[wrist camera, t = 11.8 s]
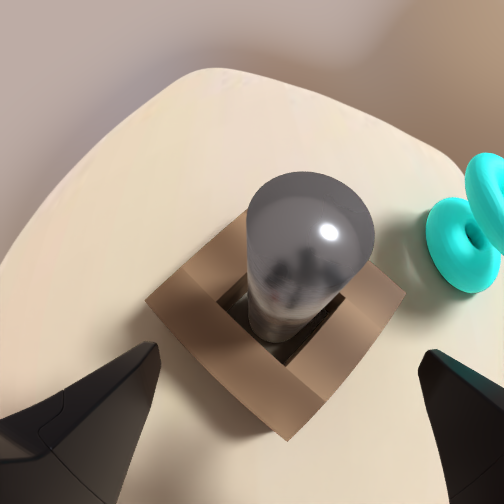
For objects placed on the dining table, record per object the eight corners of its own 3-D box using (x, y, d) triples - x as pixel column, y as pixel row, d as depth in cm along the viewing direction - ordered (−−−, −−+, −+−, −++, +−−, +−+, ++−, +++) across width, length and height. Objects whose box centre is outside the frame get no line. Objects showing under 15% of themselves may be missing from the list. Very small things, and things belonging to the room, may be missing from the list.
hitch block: (280, 429, 16) (287, 441, 13) (162, 314, 20) (144, 300, 16) (382, 308, 20) (406, 293, 16) (271, 215, 24) (275, 185, 20)
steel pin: (260, 351, 19) (278, 308, 7) (240, 300, 20) (228, 190, 9) (311, 330, 20) (396, 256, 8) (290, 282, 21) (335, 161, 9)
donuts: (560, 244, 12) (519, 262, 11) (498, 285, 21) (440, 307, 20) (513, 151, 16) (456, 139, 15) (466, 206, 25) (406, 210, 24)
